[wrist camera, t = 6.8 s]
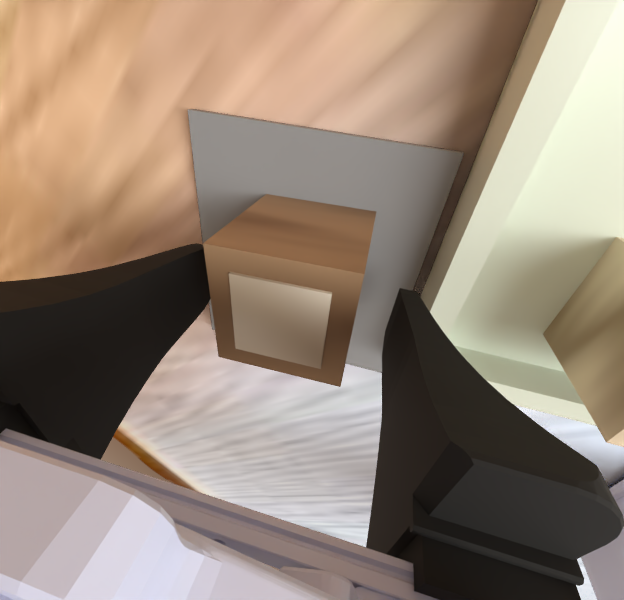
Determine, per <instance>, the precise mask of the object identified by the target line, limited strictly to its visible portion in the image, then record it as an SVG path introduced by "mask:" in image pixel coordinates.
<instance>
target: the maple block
mask: <svg viewBox="0 0 624 600" xmlns="http://www.w3.org/2000/svg"><path fill="white" fill-rule="evenodd" d="M543 335H544V337H545V339H546V340H547V342H548V344H549V345H550V347H551V349H552V351H553V352H554V354H555V356H556V357H557V359H558V361H559V362H560V364H561V366H562V368H563V369H564V371H565V373H566V374H567V376H568V378H569V380H570V381H571V383H572V385H573V386H574V388H575V390H576V391H577V393H578V395H579V397H580V398H581V400H582V402H583V403H584V405H585V407H586V408H587V410H588V412H589V414H590V415H591V417H592V419H593V420H594V422H595V424H596V426H597V427H598V429H599V431H600V432H601V434H602V436H603V437H604V439H605V441H606V442H607V443H611V444H615V445H618V446H622V447H624V238H619V237H616V238H615V239H614V241H613V242H612V243H611V245H610V246H609V247H608V249H607V250H606V251H605V253H604V254H603V255H602V257H601V258H600V259H599V261H598V262H597V263H596V264H595V266H594V267H593V268H592V270H591V271H590V272H589V274H588V275H587V276H586V278H585V279H584V280H583V282H582V283H581V284H580V286H579V287H578V288H577V289H576V291H575V292H574V293H573V295H572V296H571V297H570V299H569V300H568V301H567V303H566V304H565V305H564V307H563V308H562V309H561V311H560V312H559V313H558V314H557V316H556V317H555V318H554V320H553V321H552V322H551V324H550V325H549V326H548V328H547V329H546V330H545V332H544V333H543Z"/></svg>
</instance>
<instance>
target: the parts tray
mask: <svg viewBox="0 0 624 600" xmlns="http://www.w3.org/2000/svg"><path fill="white" fill-rule="evenodd" d="M616 237H619V238H624V0H538V2H537V5H536V7H535V10H534V12H533V15H532V17H531V20H530V22H529V25H528V27H527V30H526V32H525V35H524V37H523V40H522V42H521V45H520V47H519V50H518V52H517V55H516V57H515V60H514V62H513V65H512V67H511V70H510V72H509V75H508V77H507V80H506V83H505V85H504V88H503V90H502V93H501V95H500V98H499V100H498V103H497V105H496V108H495V110H494V113H493V115H492V118H491V120H490V123H489V125H488V128H487V130H486V133H485V135H484V138H483V140H482V143H481V145H480V148H479V150H478V153H477V155H476V158H475V160H474V163H473V166H472V168H471V171H470V173H469V176H468V178H467V181H466V183H465V186H464V188H463V191H462V193H461V196H460V198H459V201H458V203H457V206H456V208H455V211H454V213H453V216H452V218H451V221H450V223H449V226H448V228H447V231H446V233H445V236H444V238H443V241H442V244H441V246H440V249H439V251H438V254H437V256H436V259H435V261H434V264H433V266H432V269H431V271H430V274H429V276H428V279H427V281H426V284H425V286H424V289H423V291H422V294H421V296H420V297H421V299H422V300H423V302H424V304H425V305H426V307H427V308H428V310H429V311H430V313H431V315H432V316H433V318H434V319H435V321H436V322H437V323H438V325H439V326H440V328H441V329H442V331H443V332H444V333H445V335H446V336H447V337H448V339H449V340H450V341H451V342H452V344H453V345H454V346H455V347H456V349H457V350H458V351H459V352H460V353H461V354H462V356H463V357H464V358H465V359H466V360H467V361H468V362H469V363H470V364H471V365H472V366H473V367H474V369H475V370H476V371H477V372H478V373H479V374H480V375H481V376H482V377H483V378H484V379H485V380H486V381H487V382H488V383H490V384H491V385H492V386H493V387H494V388H495V389H496V390H497V391H498V392H500V393H501V394H502V395H503V396H504V397H505V398H506V399H507V400H509V401H510V402H511V403H512V404H513V405H517V406H521V407H525V408H529V409H532V410H536V411H540V412H544V413H548V414H552V415H556V416H560V417H564V418H568V419H572V420H576V421H579V422H583V423H587V424H591V425H595V426H596V424H595V422H594V420H593V419H592V417H591V415H590V414H589V412H588V410H587V408H586V407H585V405H584V403H583V402H582V400H581V398H580V397H579V395H578V393H577V391H576V390H575V388H574V386H573V385H572V383H571V381H570V380H569V378H568V376H567V374H566V373H565V371H564V369H563V368H562V366H561V364H560V362H559V361H558V359H557V357H556V356H555V354H554V352H553V351H552V349H551V347H550V345H549V344H548V342H547V340H546V339H545V337H544V335H543V333H544V332H545V330H546V329H547V328H548V326H549V325H550V324H551V322H552V321H553V320H554V318H555V317H556V316H557V314H558V313H559V312H560V311H561V309H562V308H563V307H564V305H565V304H566V303H567V301H568V300H569V299H570V297H571V296H572V295H573V293H574V292H575V291H576V289H577V288H578V287H579V286H580V284H581V283H582V282H583V280H584V279H585V278H586V276H587V275H588V274H589V272H590V271H591V270H592V268H593V267H594V266H595V264H596V263H597V262H598V261H599V259H600V258H601V257H602V255H603V254H604V253H605V251H606V250H607V249H608V247H609V246H610V245H611V243H612V242H613V241H614V239H615V238H616Z"/></svg>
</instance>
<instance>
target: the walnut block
mask: <svg viewBox="0 0 624 600" xmlns="http://www.w3.org/2000/svg"><path fill="white" fill-rule="evenodd" d="M375 217H376V211H370V210H364V209H357V208H351V207H345V206H339V205H332V204H326V203H320V202H314V201H307V200H301V199H295V198H289V197H282V196H276V195H270V194H266V195H265V196H263V197H262V198H261V199H259V200H258V201H257V202H256V203H254V204H253V205H252V206H250V207H249V208H248V209H247V210H245V211H244V212H243V213H241V214H240V215H239V216H238V217H236V218H235V219H234V220H232V221H231V222H230V223H229V224H227V225H226V226H225V227H223V228H222V229H221V230H220V231H218V232H217V233H216V234H214V235H213V236H212V237H211V238H209V239H208V240H207V241H205V242H204V243H203V247H204V254H205V262H206V269H207V276H208V283H209V290H210V297H211V304H212V312H213V319H214V326H215V333H216V340H217V347H218V355H219V357H222V358H226V359H230V360H234V361H238V362H242V363H246V364H250V365H254V366H258V367H262V368H266V369H270V370H274V371H278V372H282V373H287V374H291V375H295V376H299V377H303V378H307V379H311V380H315V381H319V382H323V383H327V384H331V385H335V386H339V387H340V386H341V381H342V377H343V372H344V367H345V363H346V358H347V353H348V349H349V344H350V339H351V335H352V330H353V325H354V321H355V316H356V311H357V307H358V302H359V297H360V293H361V288H362V283H363V279H364V274H365V269H366V264H367V258H368V253H369V248H370V243H371V238H372V232H373V227H374V222H375Z"/></svg>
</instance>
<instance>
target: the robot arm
mask: <svg viewBox="0 0 624 600" xmlns="http://www.w3.org/2000/svg"><path fill="white" fill-rule="evenodd" d="M210 299H211V297H210V290H209V283H208V276H207V269H206V262H205V254H204V247H203V245H201V244H191V245H187V246H183V247H179V248H175V249H172V250H169V251H165V252H162V253H158V254H155V255H152V256H148V257H145V258H141V259H138V260H134V261H130V262H126V263H123V264H119V265H115V266H111V267H107V268H102V269H98V270H92V271H87V272H82V273H76V274H70V275H62V276H55V277H47V278H40V279H30V280H19V281H6V282H0V600H581V598H580V596H579V593H578V590H577V587H576V585H579V586H580V585H582V584H583V583H584V577H583V575H582V572H581V569H580V567H579V564H578V561H577V559H578V558H580V557H581V559H582V561H583V564H584V567H585V569H586V572H587V574H588V577H589V579H590V582H591V585H592V587H593V590H594V592H595V595H596V598H597V600H624V480H622V481H620V482H619V483H617V484H616V485H614V486H613V487H611V488H608V486H607V484H606V482H605V480H604V478H603V476H602V474H601V472H600V471H599V469H598V467H597V466H596V465H595V464H594V463H592V462H591V461H589V460H588V459H586V458H585V457H584V456H582V455H581V454H579V453H578V452H576V451H575V450H573V449H572V448H571V447H569V446H568V445H566V444H565V443H563V442H562V441H560V440H559V439H558V438H556V437H555V436H553V435H552V434H550V433H549V432H548V431H546V430H545V429H544V428H542V427H541V426H540V425H538V424H537V423H536V422H535V421H533V420H532V419H531V418H529V417H528V416H527V415H526V414H524V413H523V412H522V411H521V410H519V409H518V408H517V407H516V406H515V405H513V404H512V403H511V402H510V401H509V400H507V399H506V398H505V397H504V396H503V395H502V394H501V393H500V392H498V391H497V390H496V389H495V388H494V387H493V386H492V385H491V384H490V383H488V382H487V381H486V380H485V379H484V378H483V377H482V376H481V375H480V374H479V373H478V372H477V371H476V370H475V369H474V367H473V366H472V365H471V364H470V363H469V362H468V361H467V360H466V359H465V358H464V357H463V356H462V354H461V353H460V352H459V351H458V350H457V349H456V347H455V346H454V345H453V344H452V342H451V341H450V340H449V339H448V337H447V336H446V335H445V333H444V332H443V331H442V329H441V328H440V326H439V325H438V323H437V322H436V321H435V319H434V318H433V316H432V315H431V313H430V311H429V310H428V308H427V307H426V305H425V304H424V302H423V300H422V299H421V297H420V295H419V294H418V292H416V291H411V290H406V289H402V288H399V291H398V294H397V297H396V300H395V303H394V306H393V309H392V312H391V315H390V318H389V321H388V324H387V327H386V330H385V335H384V342H383V350H382V422H381V432H380V442H379V452H378V460H377V469H376V478H375V486H374V494H373V502H372V510H371V517H370V524H369V531H368V538H367V545H366V547H363V546H360V545H357V544H354V543H350V542H347V541H344V540H341V539H338V538H335V537H332V536H329V535H326V534H323V533H320V532H317V531H314V530H311V529H308V528H305V527H302V526H299V525H296V524H293V523H290V522H287V521H284V520H281V519H278V518H275V517H272V516H269V515H266V514H263V513H260V512H257V511H254V510H251V509H248V508H245V507H242V506H239V505H236V504H233V503H230V502H227V501H224V500H221V499H218V498H215V497H212V496H209V495H206V494H202V493H199V492H196V491H193V490H190V489H187V488H184V487H181V486H178V485H175V484H172V483H169V482H166V481H163V480H160V479H157V478H154V477H151V476H148V475H145V474H142V473H139V472H136V471H133V470H130V469H127V468H124V467H121V466H118V465H115V464H112V463H109V462H106V461H103V460H101V458H102V456H103V454H104V452H105V450H106V448H107V447H108V445H109V443H110V441H111V439H112V437H113V436H114V434H115V432H116V430H117V428H118V427H119V425H120V423H121V422H122V420H123V418H124V416H125V415H126V413H127V411H128V410H129V408H130V406H131V405H132V403H133V401H134V400H135V398H136V397H137V395H138V394H139V392H140V390H141V389H142V387H143V386H144V384H145V383H146V381H147V380H148V378H149V377H150V375H151V374H152V372H153V371H154V369H155V368H156V367H157V365H158V364H159V362H160V361H161V359H162V358H163V357H164V356H165V354H166V353H167V352H168V351H169V349H170V348H171V347H172V346H173V345H174V344H175V343H176V341H177V340H178V339H179V338H180V337H181V336H182V335H183V333H184V332H185V331H186V330H187V329H188V328H189V326H190V325H191V324H192V323H193V322H194V321H195V320H196V318H197V317H198V316H199V315H200V314H201V312H202V311H203V310H204V308H205V307H206V305H207V304H208V302H209V301H210ZM263 563H264V564H263ZM265 564H267V565H270V566H272V567H275V568H278V569H279V571H278V570H276V569H274V568H272V567H269V566H267V565H265Z"/></svg>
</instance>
